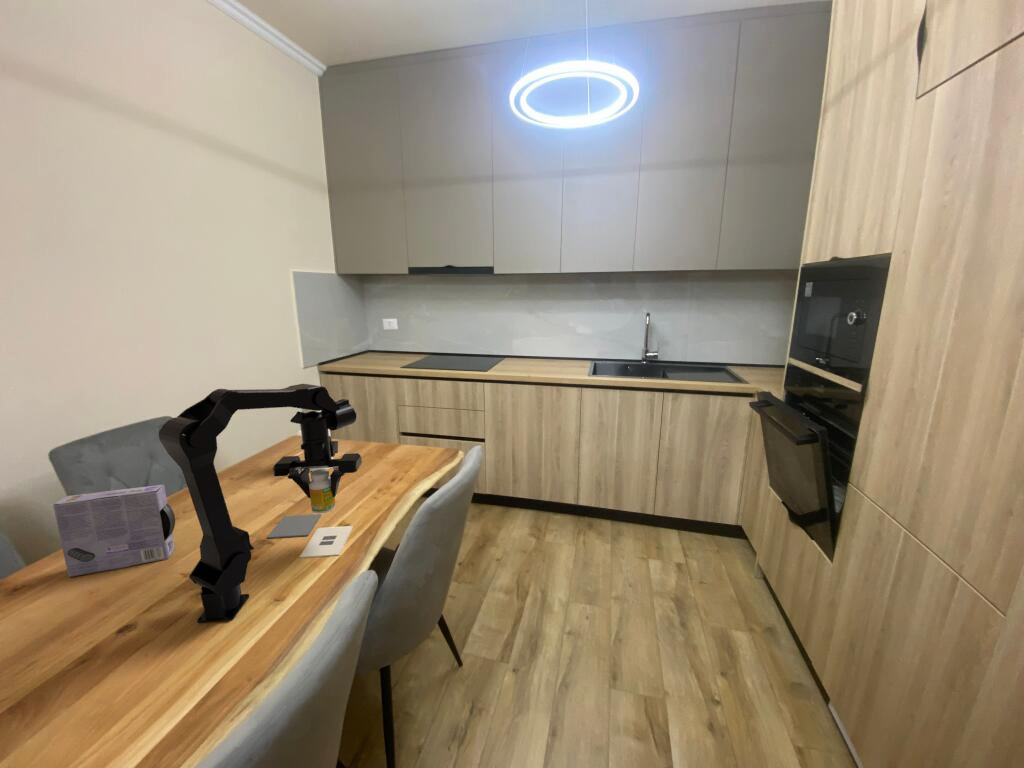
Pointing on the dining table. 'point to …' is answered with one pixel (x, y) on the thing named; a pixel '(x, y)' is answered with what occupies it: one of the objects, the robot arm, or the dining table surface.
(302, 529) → the slate mat
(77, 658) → the dining table surface
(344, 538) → the tile
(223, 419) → the robot arm
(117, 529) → the cake pan box
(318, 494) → the supplement bottle
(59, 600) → the dining table surface
